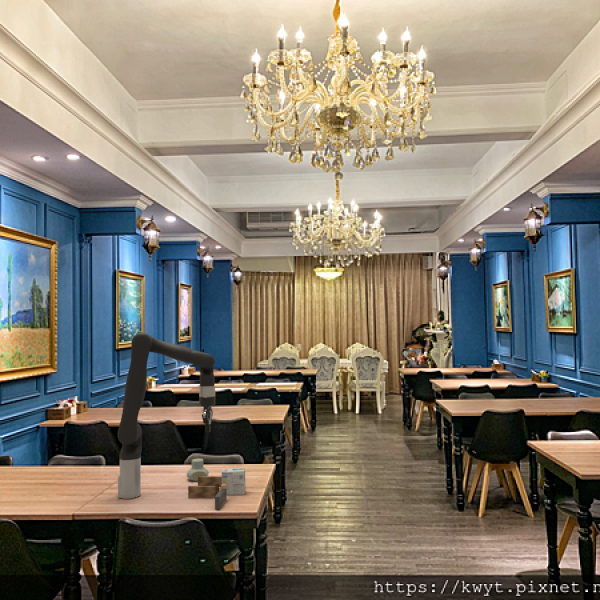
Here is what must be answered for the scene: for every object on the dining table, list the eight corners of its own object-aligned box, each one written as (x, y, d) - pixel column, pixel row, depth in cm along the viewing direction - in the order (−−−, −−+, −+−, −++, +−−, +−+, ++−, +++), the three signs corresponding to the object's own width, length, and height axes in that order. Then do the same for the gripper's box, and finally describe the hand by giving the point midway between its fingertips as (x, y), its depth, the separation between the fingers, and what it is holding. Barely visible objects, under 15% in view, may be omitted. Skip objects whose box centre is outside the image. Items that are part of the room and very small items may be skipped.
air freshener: (207, 476, 280) (207, 457, 281) (209, 480, 273) (209, 460, 273) (185, 478, 277) (185, 459, 278) (187, 482, 269) (187, 462, 270)
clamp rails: (188, 498, 244) (188, 483, 244) (198, 486, 262) (198, 473, 262) (218, 498, 243) (218, 483, 243) (227, 486, 261) (227, 473, 261)
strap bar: (214, 509, 227) (214, 493, 227) (222, 498, 241) (222, 484, 241) (219, 509, 226) (219, 493, 227) (226, 498, 240) (226, 484, 241)
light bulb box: (245, 490, 254) (245, 467, 254) (245, 494, 247) (244, 470, 248) (222, 491, 253) (222, 468, 254) (221, 495, 246) (221, 471, 247)
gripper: (203, 394, 266) (203, 429, 265) (195, 397, 253) (196, 434, 252) (218, 393, 265) (218, 429, 264) (211, 397, 252) (212, 434, 251)
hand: (207, 432), depth 258 cm, fingers closed
